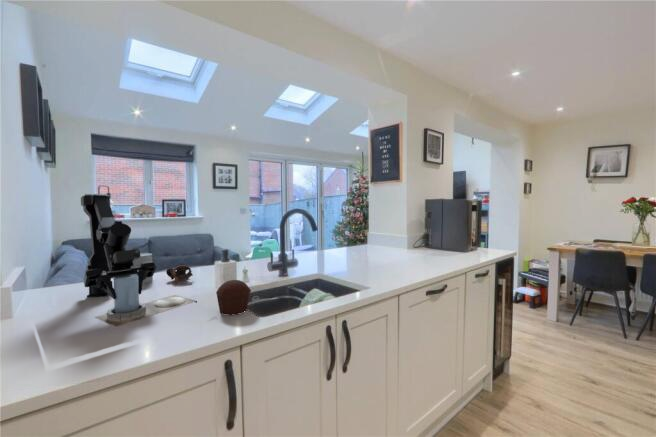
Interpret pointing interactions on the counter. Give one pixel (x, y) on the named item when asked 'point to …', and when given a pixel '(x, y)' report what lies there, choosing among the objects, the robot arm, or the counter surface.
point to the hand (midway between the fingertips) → (128, 295)
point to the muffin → (233, 297)
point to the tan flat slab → (145, 310)
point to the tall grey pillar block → (142, 259)
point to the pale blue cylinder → (126, 294)
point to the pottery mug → (179, 273)
